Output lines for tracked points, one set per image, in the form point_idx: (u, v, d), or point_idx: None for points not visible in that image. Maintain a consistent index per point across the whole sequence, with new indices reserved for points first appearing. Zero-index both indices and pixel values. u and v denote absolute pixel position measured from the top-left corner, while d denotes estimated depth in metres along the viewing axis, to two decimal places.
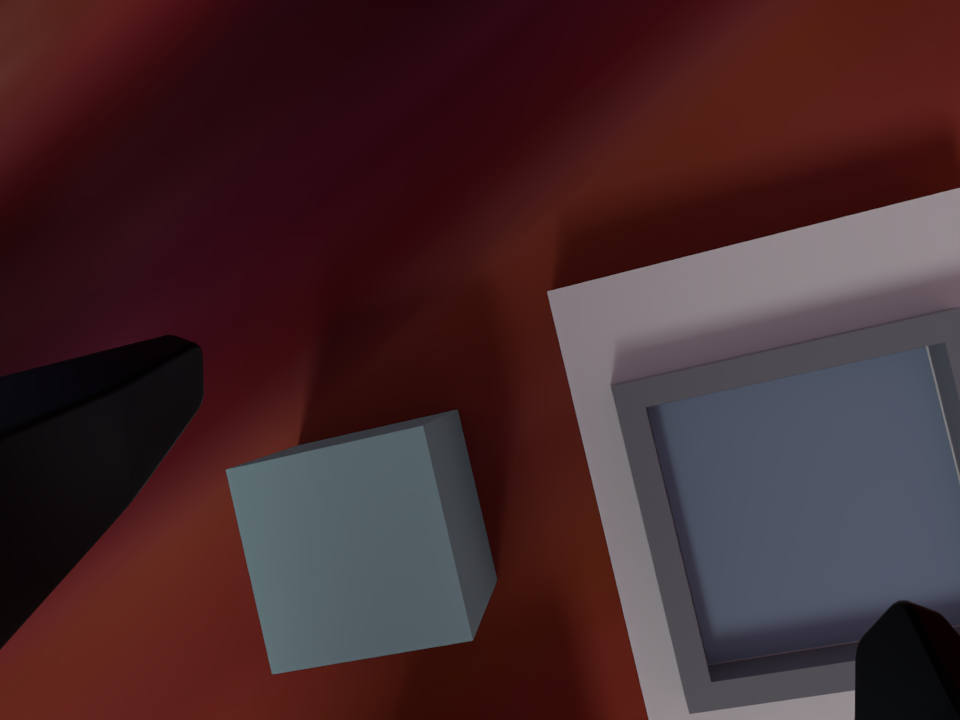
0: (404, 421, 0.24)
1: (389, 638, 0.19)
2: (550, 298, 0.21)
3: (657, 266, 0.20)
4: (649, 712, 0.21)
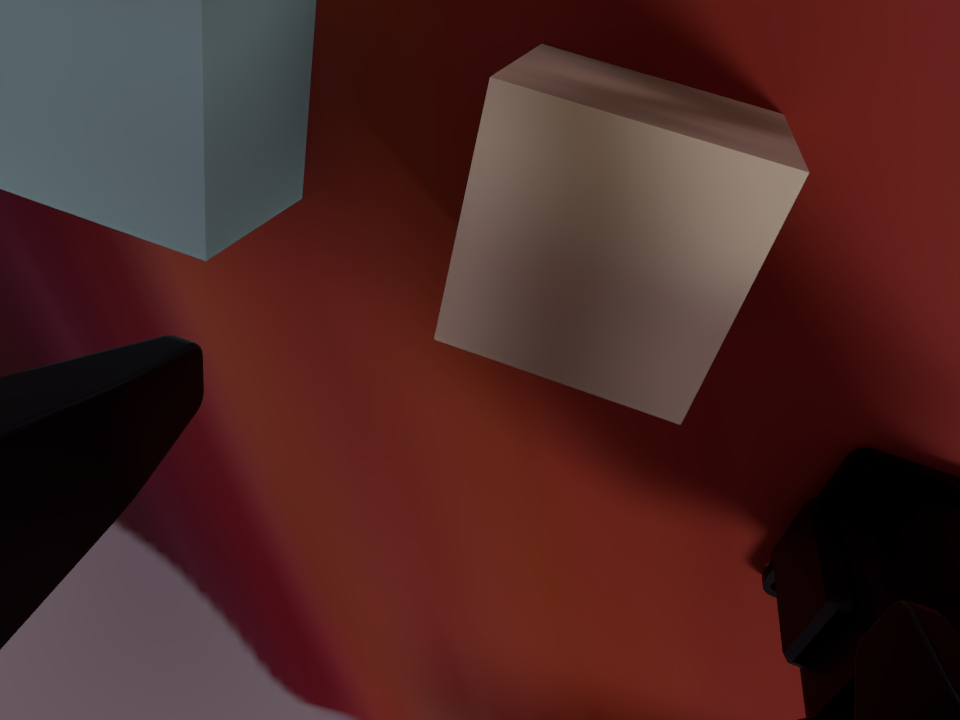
0: None
1: (184, 104, 0.15)
2: None
3: None
4: None
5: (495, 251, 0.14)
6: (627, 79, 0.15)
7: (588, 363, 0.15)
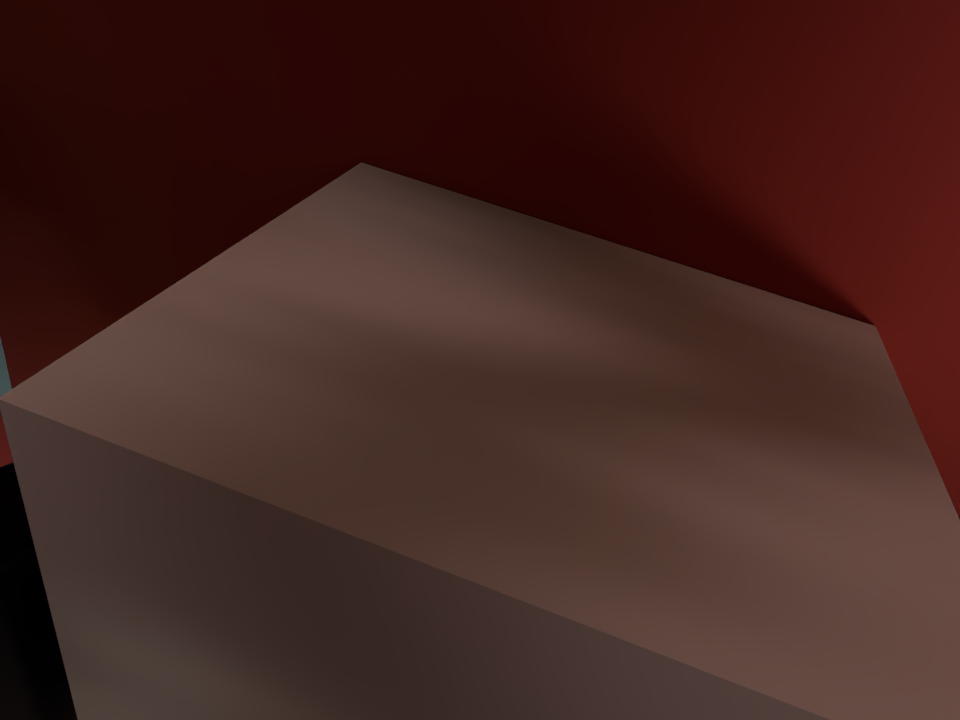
0: None
1: None
2: None
3: None
4: None
5: None
6: (520, 274, 0.07)
7: None
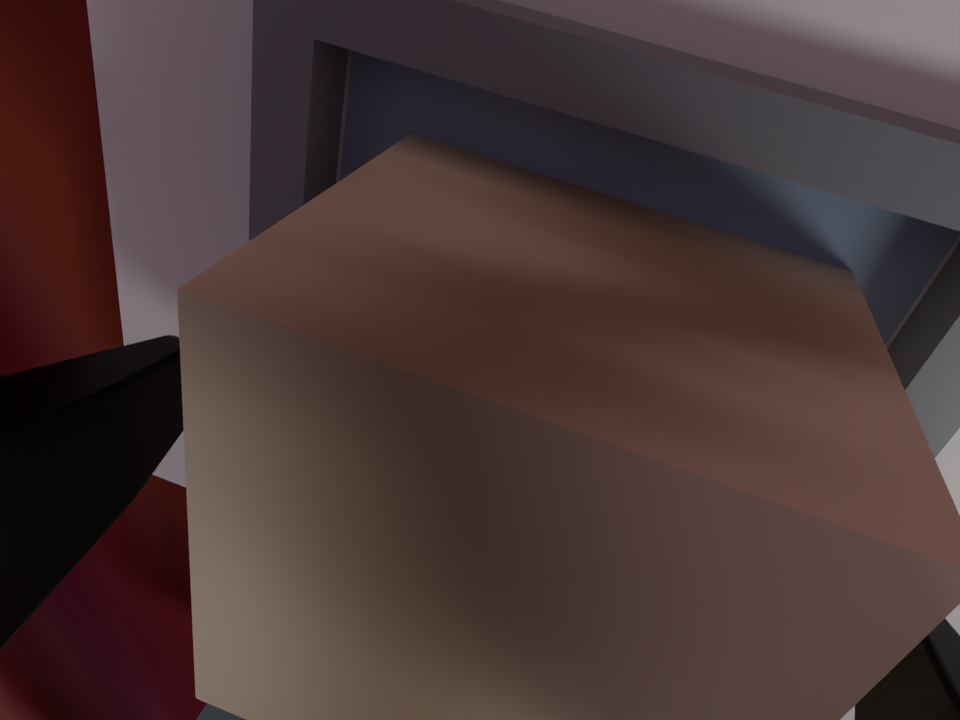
0: None
1: None
2: None
3: None
4: None
5: (269, 598, 0.07)
6: (554, 222, 0.08)
7: None
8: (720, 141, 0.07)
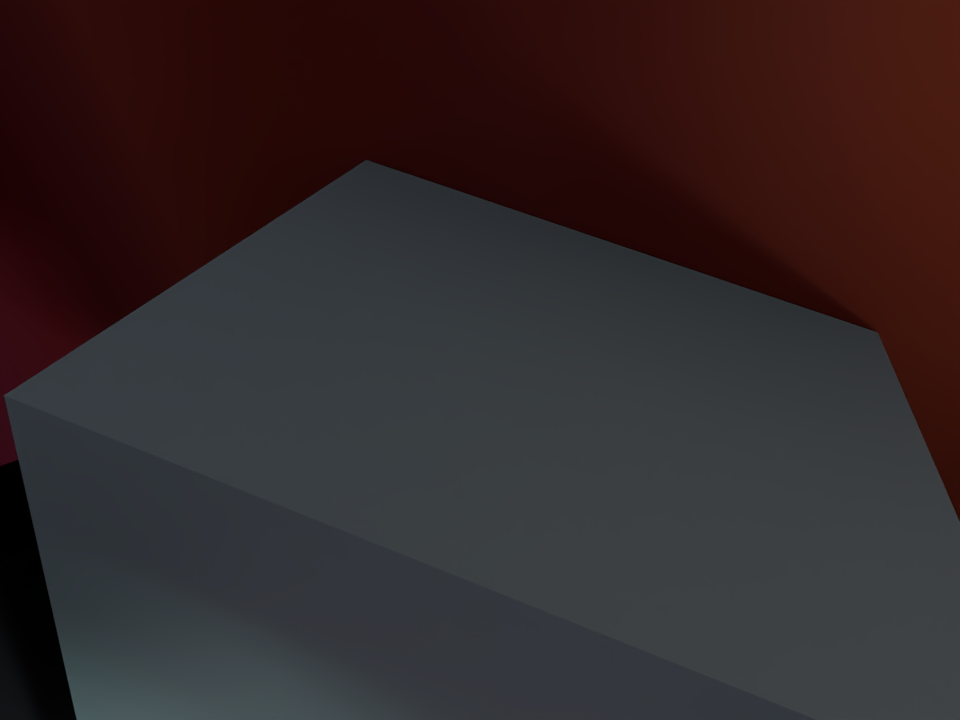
0: None
1: None
2: None
3: None
4: None
5: None
6: None
7: None
8: None
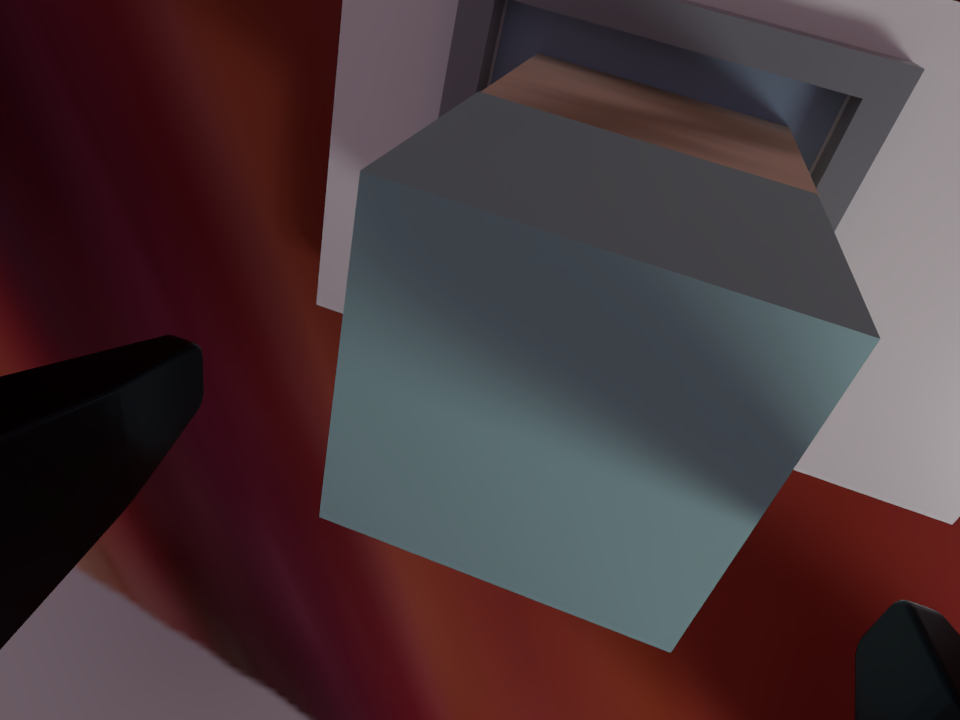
0: None
1: (745, 477, 0.09)
2: (323, 305, 0.22)
3: (327, 207, 0.20)
4: None
5: None
6: (626, 92, 0.15)
7: None
8: (714, 46, 0.14)
